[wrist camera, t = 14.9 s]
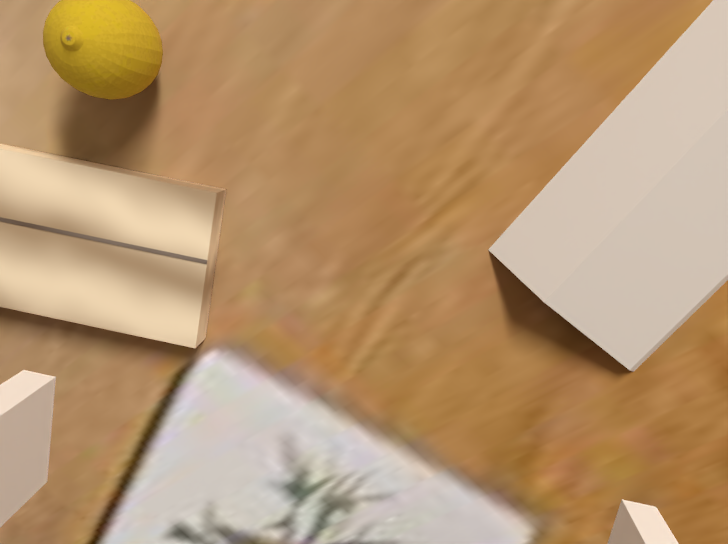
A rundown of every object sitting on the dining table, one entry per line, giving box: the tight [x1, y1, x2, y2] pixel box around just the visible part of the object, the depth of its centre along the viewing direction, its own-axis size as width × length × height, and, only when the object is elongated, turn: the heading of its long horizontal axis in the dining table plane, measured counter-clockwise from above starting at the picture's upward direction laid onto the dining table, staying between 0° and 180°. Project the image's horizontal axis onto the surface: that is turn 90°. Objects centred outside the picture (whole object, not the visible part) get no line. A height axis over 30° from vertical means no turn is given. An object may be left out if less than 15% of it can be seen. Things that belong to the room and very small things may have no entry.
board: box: [0, 143, 226, 348], centre depth 41 cm, size 10×23×2 cm, turn 79°
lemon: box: [43, 0, 163, 99], centre depth 35 cm, size 6×6×8 cm
